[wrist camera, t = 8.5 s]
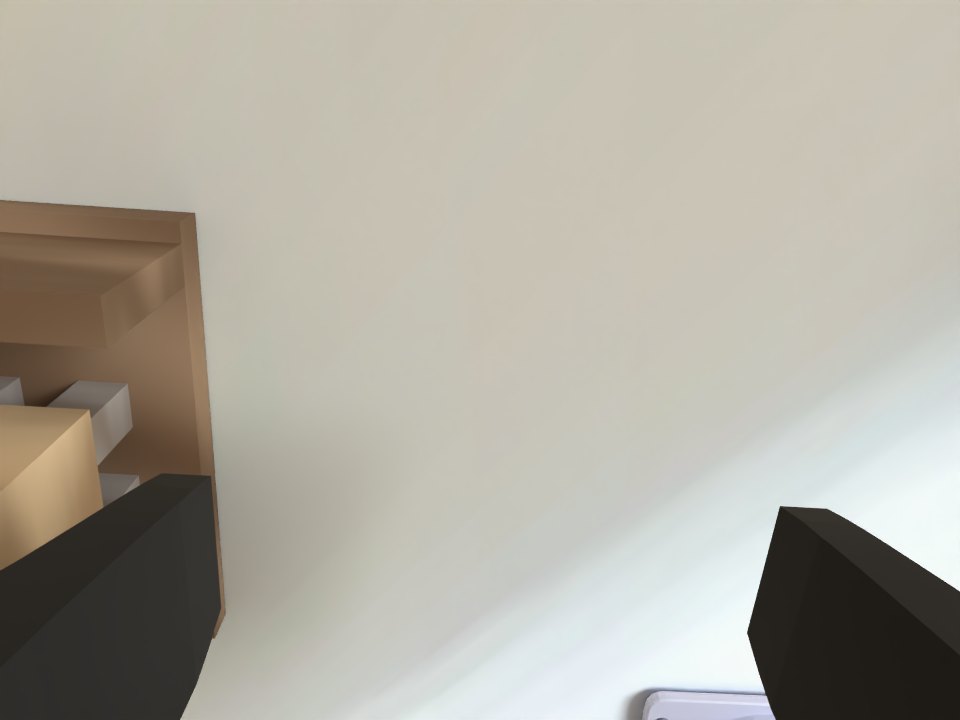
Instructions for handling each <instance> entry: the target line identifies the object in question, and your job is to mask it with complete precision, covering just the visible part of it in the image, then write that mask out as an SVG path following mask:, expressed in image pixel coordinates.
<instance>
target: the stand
mask: <svg viewBox="0 0 960 720" xmlns="http://www.w3.org/2000/svg"><path fill="white" fill-rule="evenodd" d="M0 405H16V406H34V407H51V408H69V409H87V410H90V417H91V424H92V431H93V438H94V445H95V452H96V459H97V466H98V473H99V480H100V487H101V494H102V501H103V507H105V506H107V505H108V504H110V503H111V502H113V501H115V500H116V499H118V498H119V497H121V496H123V495H124V494H126V493H128V492H129V491H131V490H133V489H134V488H136V487H138V486H139V485H141V484H143V483H144V482H146V481H148V480H150V479H152V478H154V477H156V476H157V475H159V474H161V473H167V474H186V475H204V476H211V482H212V494H213V507H214V520H215V533H216V545H217V558H218V571H219V584H220V596H221V611H220V614H219V617H218V620H217V623H216V627H215V630H214V633H213V636H212V638H215V637H216V635H217V632H218V630H219V628H220V625H221V623H222V621H223V619H224V616H225V601H224V588H223V575H222V562H221V549H220V535H219V522H218V509H217V496H216V483H215V470H214V457H213V443H212V430H211V417H210V404H209V391H208V378H207V365H206V352H205V338H204V325H203V312H202V299H201V286H200V273H199V260H198V247H197V233H196V220H195V213H186V212H171V211H156V210H141V209H125V208H110V207H95V206H80V205H65V204H50V203H34V202H19V201H4V200H0Z"/></svg>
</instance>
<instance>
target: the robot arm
mask: <svg viewBox="0 0 960 720" xmlns="http://www.w3.org/2000/svg"><path fill="white" fill-rule="evenodd" d="M220 611H221V596H220V584H219V571H218V558H217V545H216V533H215V520H214V507H213V494H212V482H211V476H204V475H186V474H167V473H161V474H159V475H157V476H156V477H154V478H152V479H150V480H148V481H146V482H144V483H143V484H141V485H139V486H138V487H136V488H134V489H133V490H131V491H129V492H128V493H126V494H124V495H123V496H121V497H119V498H118V499H116V500H115V501H113V502H111V503H110V504H108V505H107V506H105V507H103V508H102V509H100V510H99V511H97V512H95V513H94V514H92V515H91V516H89V517H87V518H86V519H84V520H83V521H81V522H79V523H78V524H76V525H75V526H73V527H71V528H70V529H68V530H66V531H65V532H63V533H62V534H60V535H58V536H57V537H55V538H53V539H52V540H50V541H49V542H47V543H45V544H44V545H42V546H40V547H39V548H37V549H36V550H34V551H32V552H31V553H29V554H27V555H26V556H24V557H22V558H21V559H19V560H17V561H16V562H14V563H12V564H11V565H9V566H7V567H5V568H4V569H2V570H0V720H180V719H181V717H182V714H183V712H184V710H185V708H186V706H187V704H188V701H189V699H190V697H191V695H192V693H193V690H194V688H195V686H196V684H197V681H198V678H199V675H200V672H201V669H202V666H203V664H204V661H205V658H206V655H207V652H208V649H209V646H210V642H211V639H212V636H213V633H214V630H215V627H216V623H217V620H218V617H219V614H220ZM747 634H748V637H749V641H750V644H751V648H752V651H753V654H754V658H755V661H756V665H757V668H758V671H759V675H760V678H761V681H762V684H763V687H764V690H765V693H766V696H764V695H741V694H719V693H696V692H673V691H659V692H655V693H653V694H651V695H650V696H649V697H648V698H647V700H646V702H645V706H644V711H643V716H642V720H656V719H658V718H662V719H659V720H960V591H958V590H957V589H955V588H954V587H952V586H951V585H949V584H947V583H946V582H944V581H943V580H941V579H940V578H938V577H937V576H935V575H934V574H932V573H931V572H929V571H928V570H926V569H924V568H923V567H921V566H920V565H918V564H917V563H915V562H914V561H912V560H911V559H909V558H908V557H906V556H904V555H903V554H901V553H900V552H898V551H897V550H895V549H894V548H892V547H891V546H889V545H888V544H886V543H884V542H883V541H881V540H880V539H878V538H876V537H875V536H873V535H872V534H870V533H869V532H867V531H865V530H864V529H862V528H860V527H859V526H857V525H855V524H854V523H852V522H850V521H849V520H847V519H845V518H843V517H842V516H840V515H838V514H836V513H834V512H832V511H830V510H828V509H821V508H802V507H783V506H780V508H779V512H778V516H777V520H776V524H775V528H774V531H773V535H772V539H771V543H770V547H769V551H768V554H767V558H766V562H765V566H764V570H763V574H762V578H761V581H760V585H759V589H758V593H757V597H756V601H755V604H754V608H753V612H752V616H751V620H750V624H749V627H748V631H747Z"/></svg>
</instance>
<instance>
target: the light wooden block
mask: <svg viewBox="0 0 960 720" xmlns="http://www.w3.org/2000/svg"><path fill="white" fill-rule="evenodd" d="M102 508H103V501H102V494H101V487H100V480H99V473H98V466H97V459H96V452H95V445H94V438H93V431H92V424H91V417H90V410H87V409H69V408H51V407H34V406H16V405H0V570H2V569H4V568H5V567H7V566H9V565H11V564H12V563H14V562H16V561H17V560H19V559H21V558H22V557H24V556H26V555H27V554H29V553H31V552H32V551H34V550H36V549H37V548H39V547H40V546H42V545H44V544H45V543H47V542H49V541H50V540H52V539H53V538H55V537H57V536H58V535H60V534H62V533H63V532H65V531H66V530H68V529H70V528H71V527H73V526H75V525H76V524H78V523H79V522H81V521H83V520H84V519H86V518H87V517H89V516H91V515H92V514H94V513H95V512H97V511H99V510H100V509H102Z"/></svg>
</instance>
